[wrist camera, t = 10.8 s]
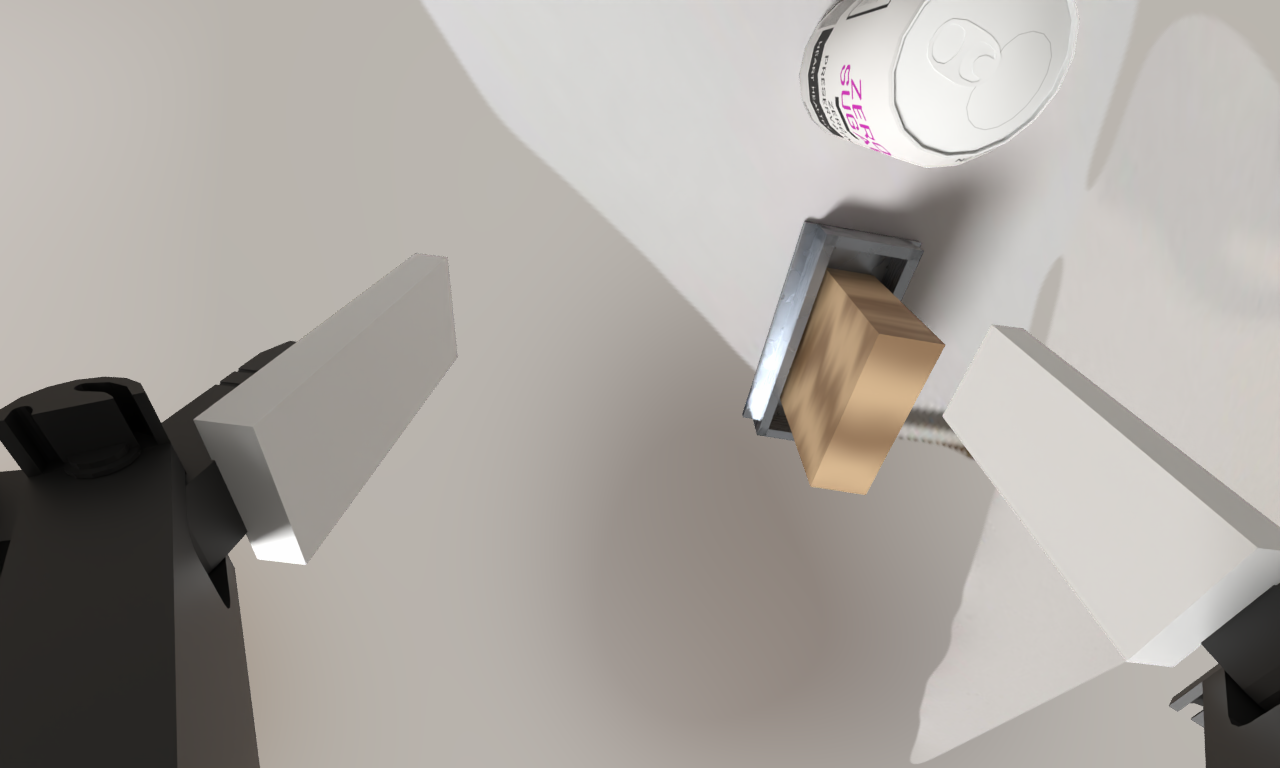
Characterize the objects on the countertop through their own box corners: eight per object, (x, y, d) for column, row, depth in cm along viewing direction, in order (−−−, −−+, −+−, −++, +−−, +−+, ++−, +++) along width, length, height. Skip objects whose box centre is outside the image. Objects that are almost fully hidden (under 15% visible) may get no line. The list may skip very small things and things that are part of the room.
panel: (824, 267, 40) (878, 333, 29) (873, 275, 40) (945, 344, 30) (778, 394, 46) (810, 486, 36) (821, 401, 46) (865, 494, 36)
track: (804, 221, 38) (814, 231, 36) (919, 241, 39) (936, 253, 36) (742, 414, 48) (746, 433, 45) (835, 428, 48) (844, 448, 46)
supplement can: (955, 31, 32) (1147, 1, 19) (871, 159, 36) (983, 205, 23) (849, -39, 31) (979, -121, 18) (773, 103, 35) (835, 119, 22)
